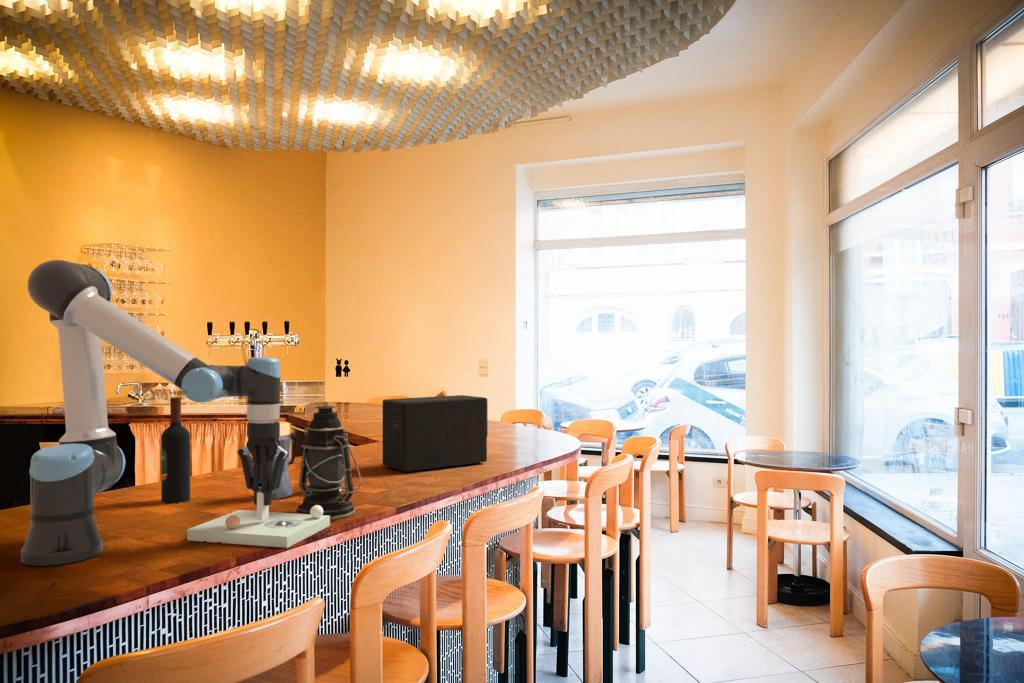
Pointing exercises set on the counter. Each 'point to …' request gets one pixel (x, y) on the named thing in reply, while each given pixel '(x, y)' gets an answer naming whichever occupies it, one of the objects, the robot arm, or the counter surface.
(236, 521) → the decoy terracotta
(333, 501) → the lantern
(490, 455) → the counter surface
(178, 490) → the wine bottle
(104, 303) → the robot arm
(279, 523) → the steel ball
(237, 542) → the board
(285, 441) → the moka pot
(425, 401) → the black rectangular block
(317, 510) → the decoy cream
